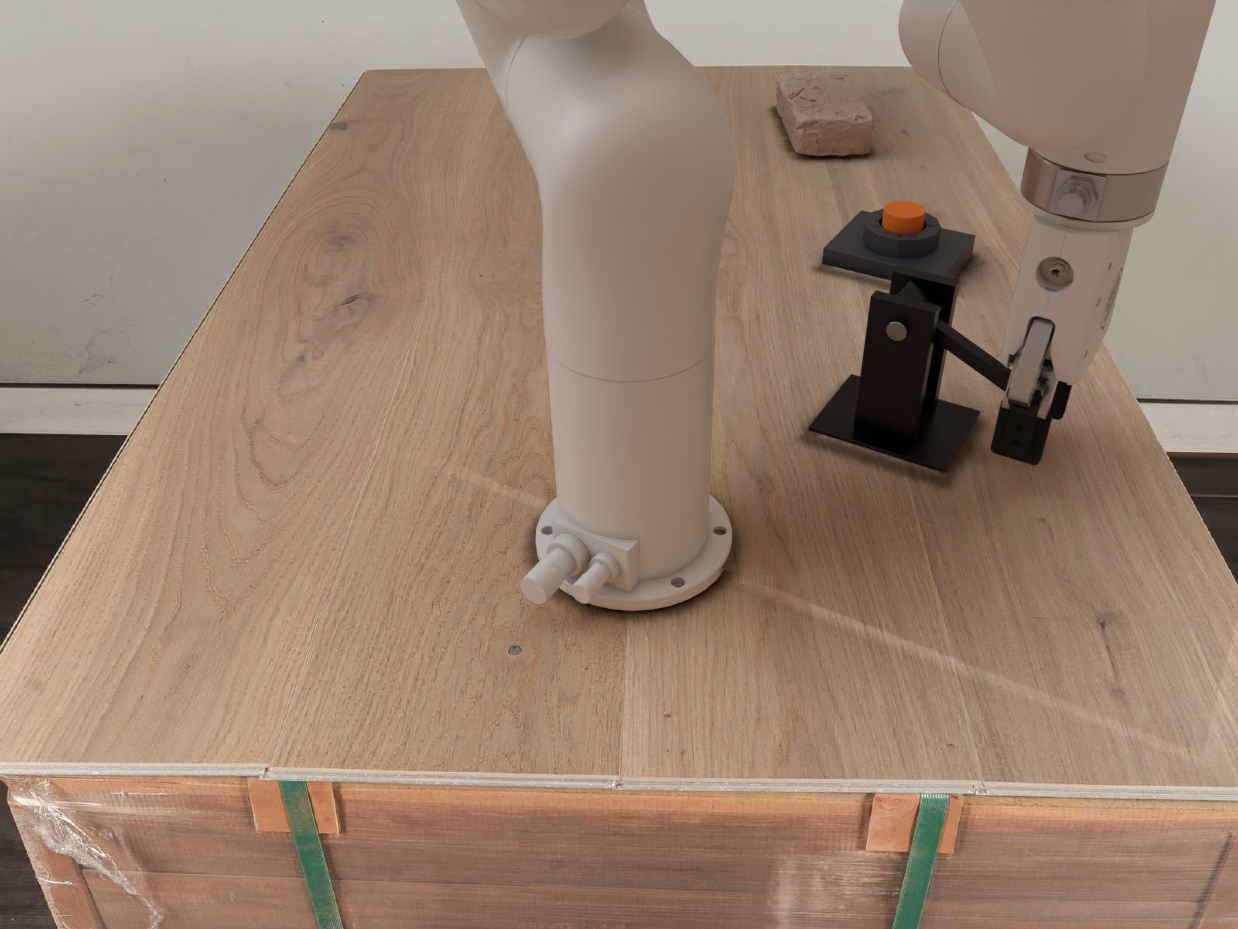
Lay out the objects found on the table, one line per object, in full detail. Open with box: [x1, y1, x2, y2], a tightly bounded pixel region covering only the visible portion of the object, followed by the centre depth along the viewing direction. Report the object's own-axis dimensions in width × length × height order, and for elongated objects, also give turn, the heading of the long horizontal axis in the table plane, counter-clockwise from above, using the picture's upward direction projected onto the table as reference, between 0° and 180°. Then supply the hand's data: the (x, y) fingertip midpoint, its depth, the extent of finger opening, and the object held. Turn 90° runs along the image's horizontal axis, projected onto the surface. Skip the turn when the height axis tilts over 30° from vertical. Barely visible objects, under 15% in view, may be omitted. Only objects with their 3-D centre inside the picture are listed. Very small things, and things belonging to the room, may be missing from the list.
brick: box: [775, 70, 874, 157], centre depth 126 cm, size 17×8×5 cm, turn 2°
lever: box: [897, 281, 1047, 396], centre depth 74 cm, size 12×5×2 cm, turn 58°
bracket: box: [807, 266, 981, 473], centre depth 78 cm, size 10×8×12 cm
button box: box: [821, 208, 976, 282], centre depth 100 cm, size 11×9×4 cm
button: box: [882, 200, 927, 234], centre depth 99 cm, size 4×4×2 cm
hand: (1027, 432), depth 75 cm, fingers closed on lever, 5 cm apart
